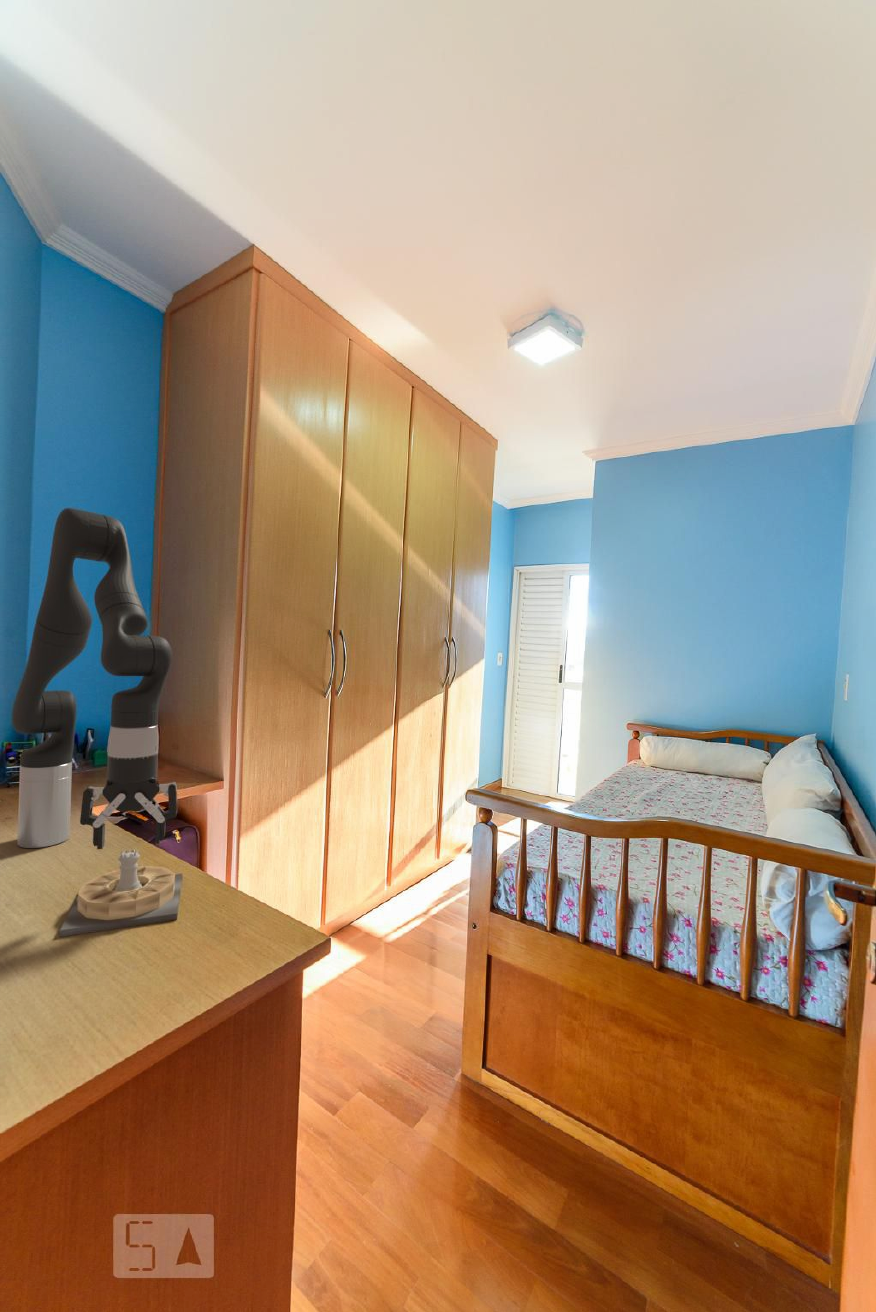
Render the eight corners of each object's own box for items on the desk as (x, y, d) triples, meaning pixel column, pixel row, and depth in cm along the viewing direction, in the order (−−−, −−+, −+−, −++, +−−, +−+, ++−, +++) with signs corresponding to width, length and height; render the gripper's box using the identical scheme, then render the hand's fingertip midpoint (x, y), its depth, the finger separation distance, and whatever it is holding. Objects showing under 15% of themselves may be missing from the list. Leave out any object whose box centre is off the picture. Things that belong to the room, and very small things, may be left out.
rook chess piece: (129, 906, 87) (130, 858, 87) (106, 902, 88) (107, 855, 88) (148, 894, 92) (150, 848, 92) (126, 890, 93) (128, 846, 93)
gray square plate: (83, 890, 94) (84, 870, 94) (182, 878, 101) (183, 859, 101) (59, 936, 80) (60, 913, 80) (177, 919, 86) (177, 897, 86)
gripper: (180, 745, 96) (177, 833, 96) (89, 748, 90) (85, 841, 91) (178, 754, 89) (174, 849, 89) (78, 757, 83) (74, 858, 84)
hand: (129, 845), depth 90 cm, fingers open, 8 cm apart
